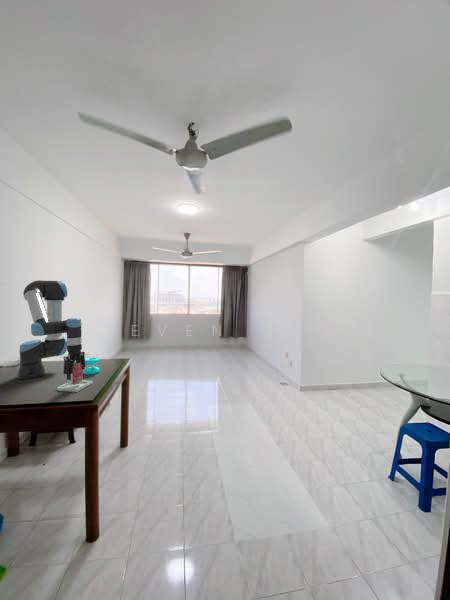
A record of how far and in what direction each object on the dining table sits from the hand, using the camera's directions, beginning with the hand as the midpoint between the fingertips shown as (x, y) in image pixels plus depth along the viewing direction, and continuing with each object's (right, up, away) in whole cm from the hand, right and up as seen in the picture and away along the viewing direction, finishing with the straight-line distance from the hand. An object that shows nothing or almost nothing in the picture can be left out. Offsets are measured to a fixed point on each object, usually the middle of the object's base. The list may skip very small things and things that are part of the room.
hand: (75, 382), depth 149 cm
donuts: (-4, -2, +26) cm, 27 cm away
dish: (0, -3, 0) cm, 3 cm away
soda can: (0, -1, 0) cm, 1 cm away
